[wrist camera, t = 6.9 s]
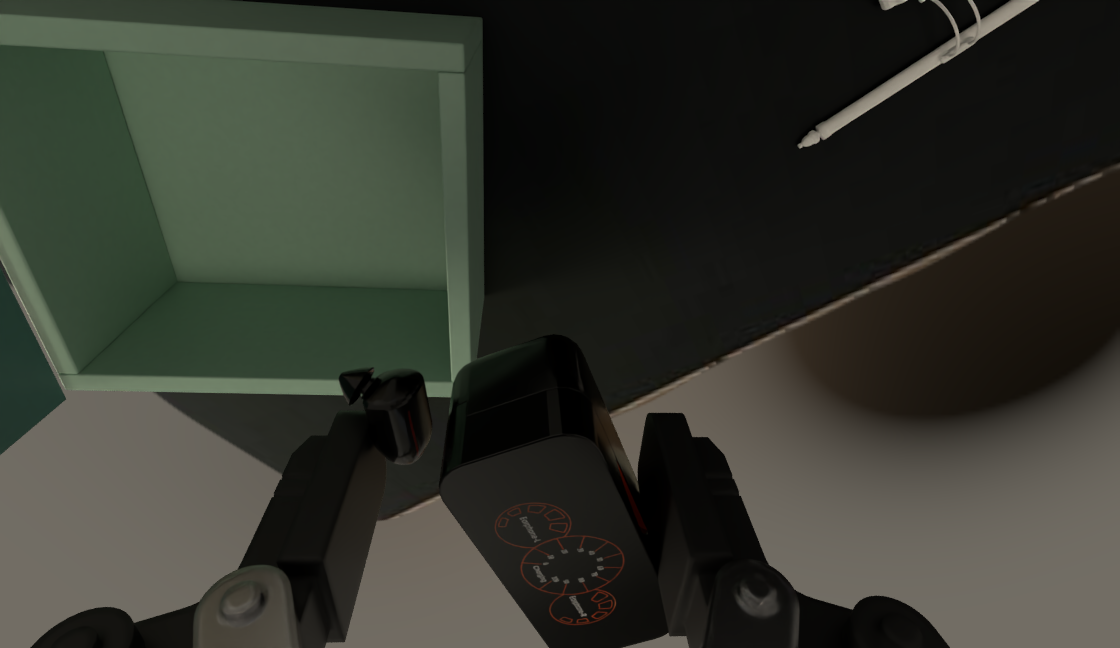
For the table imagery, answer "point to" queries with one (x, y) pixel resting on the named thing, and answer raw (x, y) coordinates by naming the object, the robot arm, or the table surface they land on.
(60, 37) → the storage box
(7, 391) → the lid
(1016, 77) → the table surface
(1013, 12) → the picture light
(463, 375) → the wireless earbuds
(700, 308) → the table surface
